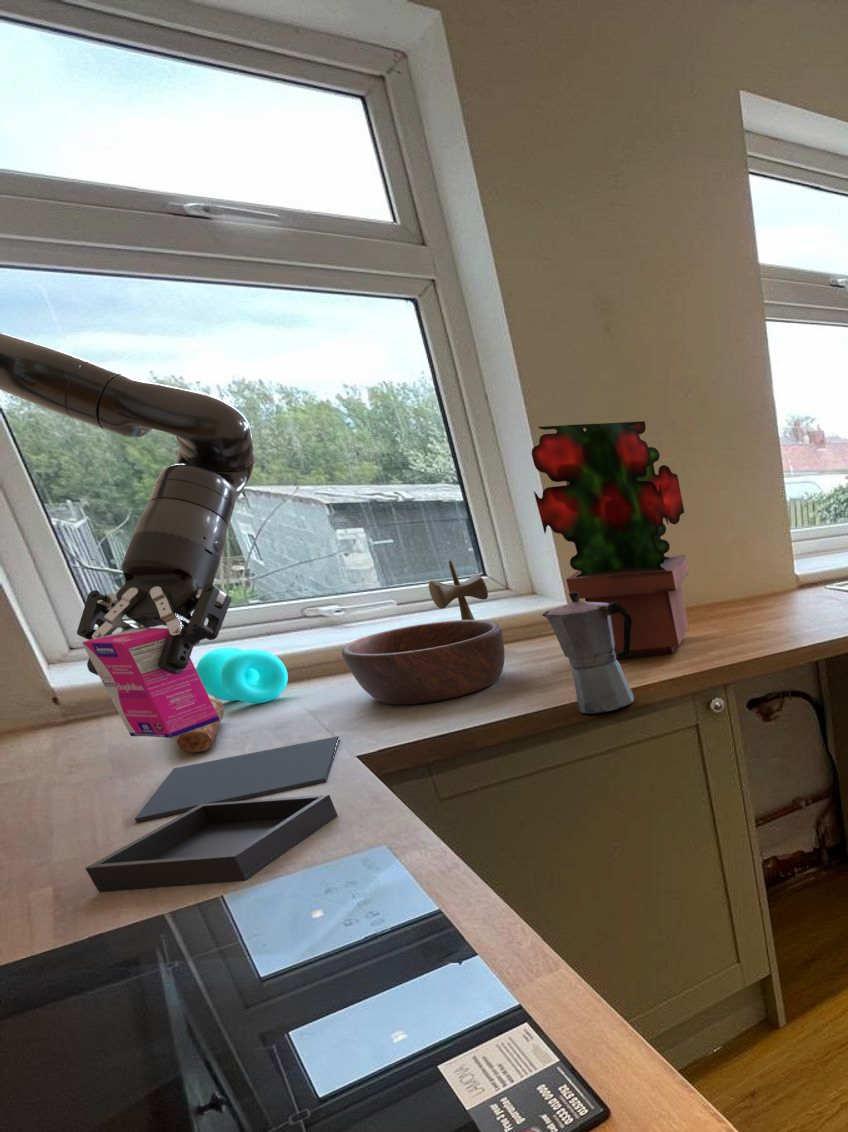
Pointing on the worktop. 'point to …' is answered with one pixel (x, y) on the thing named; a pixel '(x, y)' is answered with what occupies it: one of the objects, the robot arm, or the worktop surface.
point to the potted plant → (617, 527)
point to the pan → (213, 843)
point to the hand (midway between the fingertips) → (135, 672)
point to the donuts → (242, 675)
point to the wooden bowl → (427, 661)
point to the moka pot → (593, 652)
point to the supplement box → (149, 684)
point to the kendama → (458, 592)
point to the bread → (201, 732)
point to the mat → (241, 777)
